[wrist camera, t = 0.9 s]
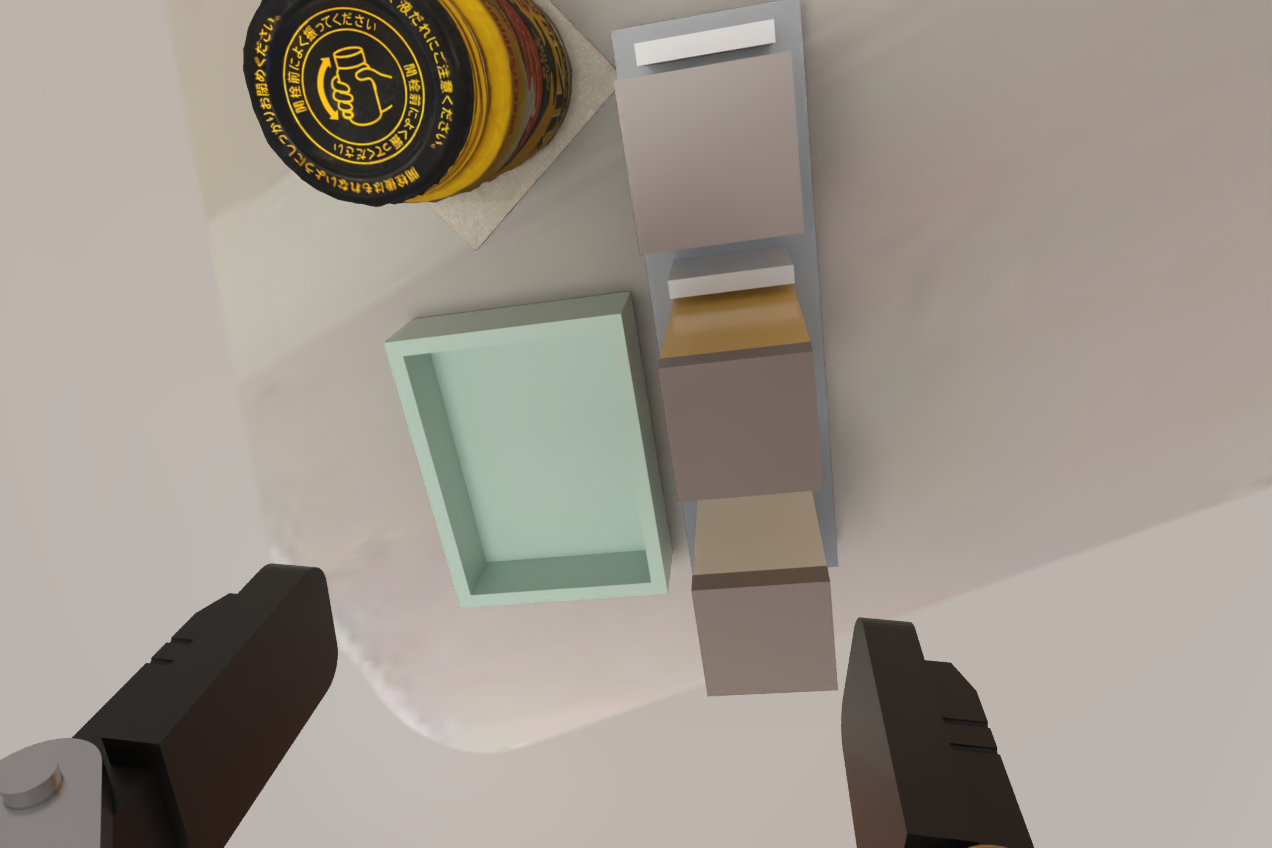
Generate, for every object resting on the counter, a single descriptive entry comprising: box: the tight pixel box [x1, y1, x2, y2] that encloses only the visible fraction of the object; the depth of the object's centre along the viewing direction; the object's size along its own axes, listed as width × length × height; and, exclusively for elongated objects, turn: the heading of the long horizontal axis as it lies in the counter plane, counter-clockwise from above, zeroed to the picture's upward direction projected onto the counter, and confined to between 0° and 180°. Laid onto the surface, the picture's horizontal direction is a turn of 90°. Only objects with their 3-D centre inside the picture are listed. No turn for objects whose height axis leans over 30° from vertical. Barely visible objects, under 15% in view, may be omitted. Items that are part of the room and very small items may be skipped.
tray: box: [384, 291, 672, 608], centre depth 33 cm, size 9×12×3 cm
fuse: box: [658, 284, 823, 502], centre depth 26 cm, size 4×4×9 cm
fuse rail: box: [610, 0, 838, 696], centre depth 26 cm, size 6×21×11 cm, turn 9°
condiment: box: [243, 0, 618, 250], centre depth 24 cm, size 7×8×12 cm
